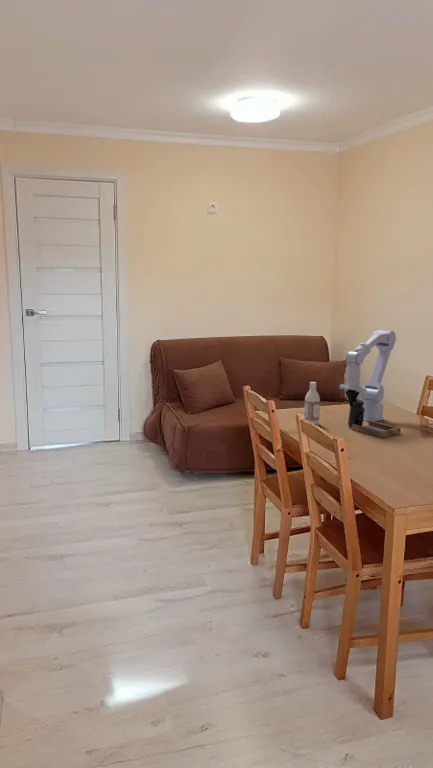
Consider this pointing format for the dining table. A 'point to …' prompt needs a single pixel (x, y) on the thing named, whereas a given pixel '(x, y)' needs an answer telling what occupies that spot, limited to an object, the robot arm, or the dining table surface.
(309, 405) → the bath foam
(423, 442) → the dining table surface
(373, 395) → the robot arm
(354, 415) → the supplement bottle
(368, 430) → the tray
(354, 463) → the dining table surface
